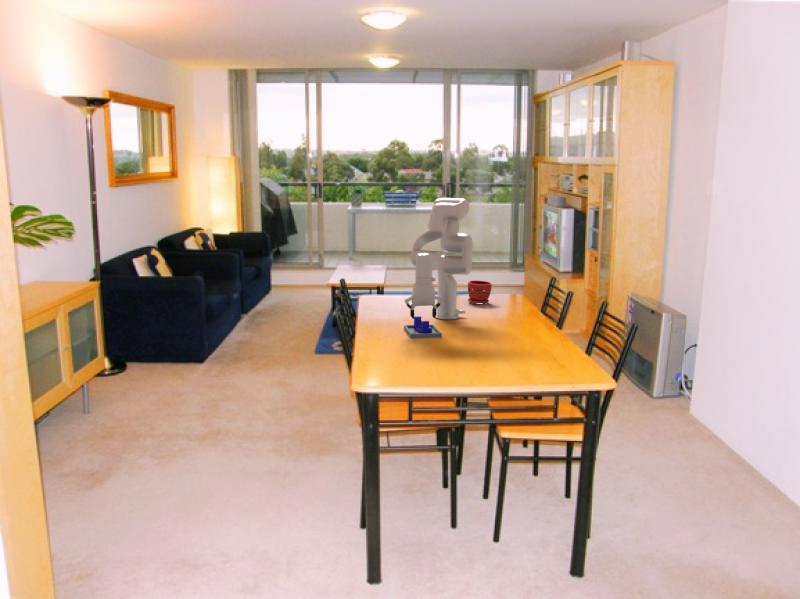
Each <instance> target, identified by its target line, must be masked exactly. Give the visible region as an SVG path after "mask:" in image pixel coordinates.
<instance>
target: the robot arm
mask: <svg viewBox="0 0 800 599" xmlns="http://www.w3.org/2000/svg"><path fill="white" fill-rule="evenodd" d="M469 212H470V202H469V201H468V199H466V198H455V197H453V198H451V197H439V198H437V199H435V200H434V201H433V206H432V208H431V211H430V215H429V220H428V224H427V229H426V230H424V231H423V232H422V233H421V234H420V235H419V236H418V237H417V238H416V239H415V240H414V243H413V245H412V249H411V253H410V263H411V264H412V265H413V266H415V280H414V281H415V282H414V283H413V285H412V289H411V291H412V292H411V296H409V297H408V298H406V299H404V303H405V305H406V307H407V308H408V309H409V310H410V311H409V312H410V315H409V316H410V317H411V318H412V319H413V320H414V317H415V308H416V307H425V306H426V307H427V306H429V307H430V306H432V309H431V311H432V313H431V315H432V318H434V319H439V320H456V319H459V318H460V314H461V315H462V314H463V315H465V314H466V309H458V308H457V292H458V290H457V288H458V284H457V280H456V278H455V277H454V276H455V275H456V276H468V275H469V274H471V271H472V264H473V244H474V243H473V238H472V236H471V235H470V234H469V233H461V232H459V222H460V221H462V220H464V218H466V217H467V215H468V213H469ZM439 239H440V240H439ZM436 240H439V241H440V242H439V243H440V249H441V251H443V252H445V253H457V254H459V255H457V254H442V253H441V252H440V251H437V250H429V249H428V250H427V249H422V248H423V247H424V246H426V245H427V244H429V243H431V242H435V241H436ZM460 254H461V255H460ZM433 268H434V269H435V268H436V270H437V296H436V293H435V292H436V291H435V285H434V283H433V282H435V281H436V277H433ZM436 300H437V303H436ZM409 302H411V303H412V304H411V305H410V303H409ZM435 303H436V304H435Z"/></svg>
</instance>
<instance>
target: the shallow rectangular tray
mask: <svg viewBox="0 0 800 599" xmlns="http://www.w3.org/2000/svg"><path fill="white" fill-rule="evenodd" d="M429 327H431V328H432V333H419V332H417V331H416V330H414V324H404V325H403V330H404V332H405V333H406V335H407V336H408V337H409V339H441V338H442V337H443V333H442V332H441V331H440V330H439V329H438V328H437V327H436V325H434V324H429Z"/></svg>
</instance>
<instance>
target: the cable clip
mask: <svg viewBox="0 0 800 599" xmlns="http://www.w3.org/2000/svg"><path fill="white" fill-rule="evenodd" d="M413 325H414V330H416V331H417V332H419V333H432V328H431V327H429V325H430V321H429V320H422V316H419V315H417V316H415V315H414V319H413Z"/></svg>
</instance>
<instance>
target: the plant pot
mask: <svg viewBox="0 0 800 599" xmlns="http://www.w3.org/2000/svg"><path fill="white" fill-rule="evenodd" d="M492 285H493V284H492V282H489V281H486V280H469V281H468V282H467V293H468V297H469V298H467V301H468V302H469V303H470V302H471V303H470V304H472V303H487V304H488V303H489V302H490V300H489V297H490V295H491V293H492Z"/></svg>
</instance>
